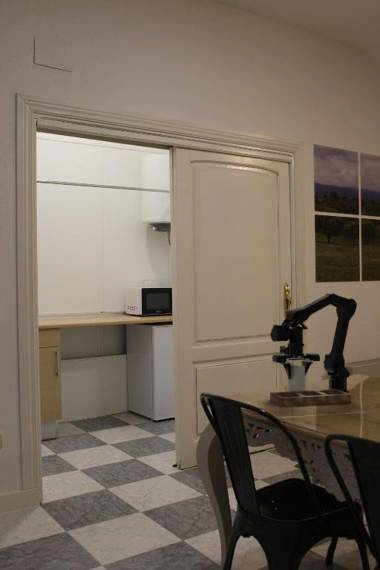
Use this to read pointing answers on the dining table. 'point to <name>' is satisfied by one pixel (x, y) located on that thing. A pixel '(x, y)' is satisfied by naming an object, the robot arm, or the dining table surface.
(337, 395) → the rail
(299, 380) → the skincare box
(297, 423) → the dining table surface
